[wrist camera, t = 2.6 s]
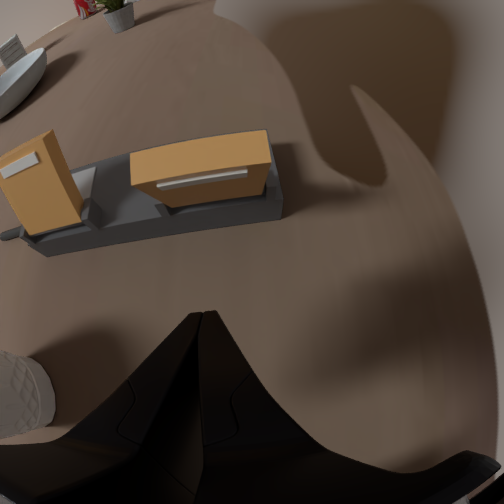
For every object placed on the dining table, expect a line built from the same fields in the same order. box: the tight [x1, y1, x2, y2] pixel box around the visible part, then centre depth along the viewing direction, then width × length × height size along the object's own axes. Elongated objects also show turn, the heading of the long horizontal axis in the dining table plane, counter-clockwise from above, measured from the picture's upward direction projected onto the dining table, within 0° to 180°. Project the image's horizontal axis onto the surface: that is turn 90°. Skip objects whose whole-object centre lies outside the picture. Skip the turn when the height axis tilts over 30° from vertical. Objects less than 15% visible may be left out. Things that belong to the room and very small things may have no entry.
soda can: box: [73, 0, 97, 19], centre depth 49 cm, size 7×7×12 cm
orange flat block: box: [130, 130, 272, 208], centre depth 15 cm, size 2×6×8 cm, turn 98°
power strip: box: [0, 129, 284, 257], centre depth 20 cm, size 7×31×5 cm, turn 98°
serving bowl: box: [0, 48, 47, 119], centre depth 32 cm, size 21×21×7 cm
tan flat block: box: [0, 129, 84, 237], centre depth 15 cm, size 2×6×8 cm, turn 98°
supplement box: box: [0, 34, 27, 70], centre depth 38 cm, size 7×7×13 cm
